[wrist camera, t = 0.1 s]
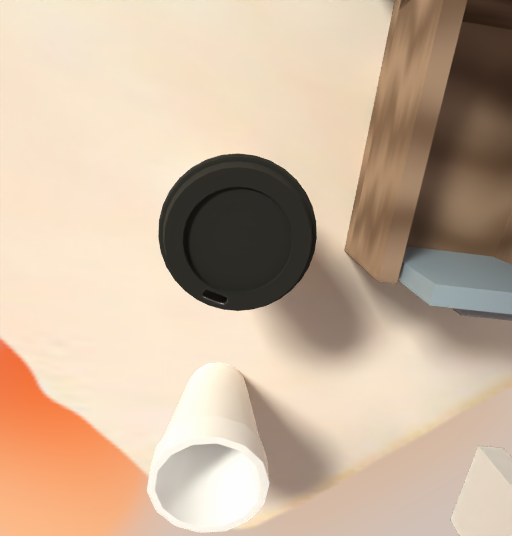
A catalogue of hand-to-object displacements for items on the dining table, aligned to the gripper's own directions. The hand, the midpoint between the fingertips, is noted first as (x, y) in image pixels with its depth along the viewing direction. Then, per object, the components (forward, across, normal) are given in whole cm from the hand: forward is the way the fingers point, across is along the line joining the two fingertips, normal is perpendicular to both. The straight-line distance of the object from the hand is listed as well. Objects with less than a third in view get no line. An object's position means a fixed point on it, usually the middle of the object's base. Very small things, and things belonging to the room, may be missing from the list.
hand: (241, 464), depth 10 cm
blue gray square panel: (+26, +18, 0) cm, 32 cm away
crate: (+28, +18, +12) cm, 35 cm away
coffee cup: (+28, 0, +3) cm, 28 cm away
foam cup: (+28, 0, -17) cm, 33 cm away
